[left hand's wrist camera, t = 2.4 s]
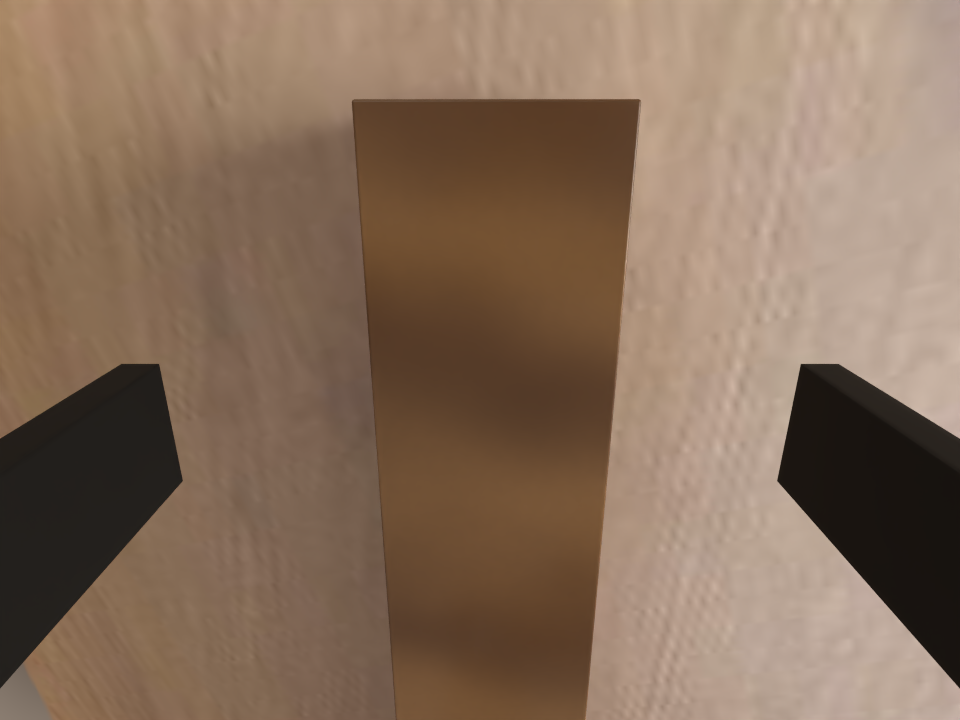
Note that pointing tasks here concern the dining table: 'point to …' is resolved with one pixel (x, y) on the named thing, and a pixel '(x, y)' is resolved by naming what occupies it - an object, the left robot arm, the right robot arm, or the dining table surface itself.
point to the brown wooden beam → (493, 387)
